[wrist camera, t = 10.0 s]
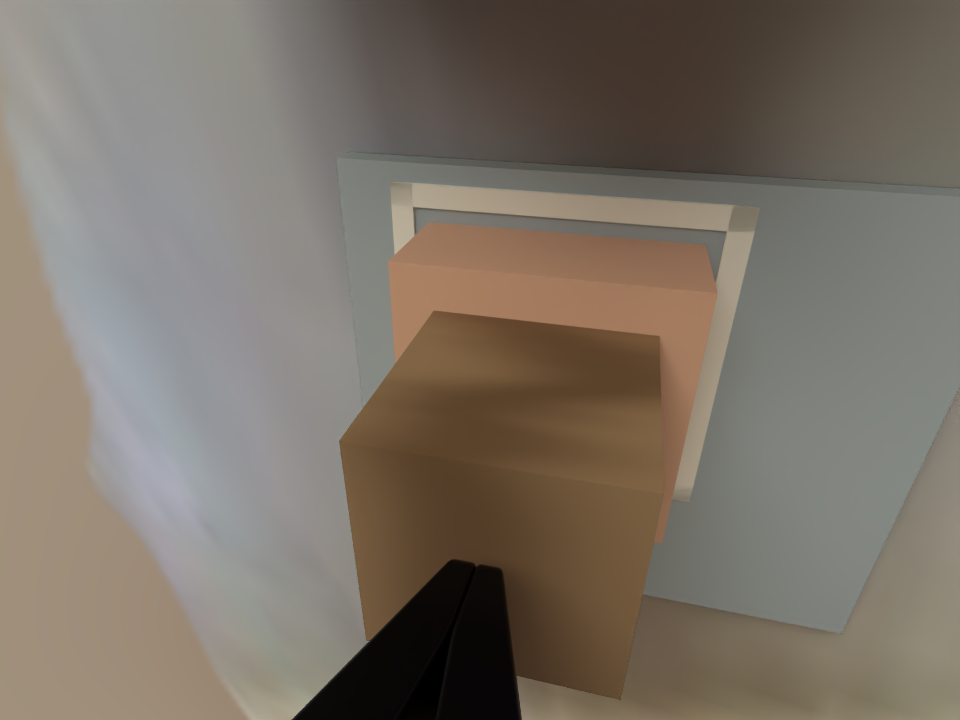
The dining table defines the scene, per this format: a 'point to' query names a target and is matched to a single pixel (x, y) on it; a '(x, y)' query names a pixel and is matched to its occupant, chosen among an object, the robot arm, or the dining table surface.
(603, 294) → the terracotta base
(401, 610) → the robot arm
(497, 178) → the grey flat slab
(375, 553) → the walnut cube
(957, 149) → the dining table surface
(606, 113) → the dining table surface
